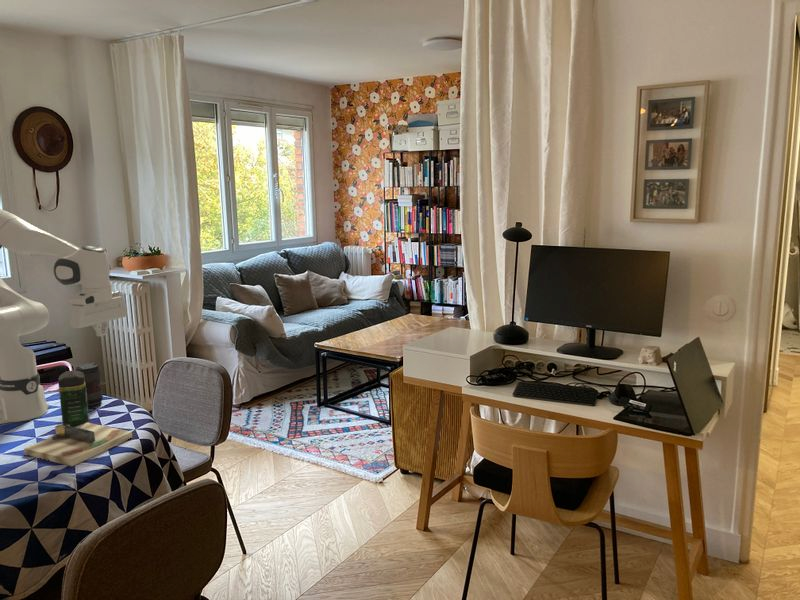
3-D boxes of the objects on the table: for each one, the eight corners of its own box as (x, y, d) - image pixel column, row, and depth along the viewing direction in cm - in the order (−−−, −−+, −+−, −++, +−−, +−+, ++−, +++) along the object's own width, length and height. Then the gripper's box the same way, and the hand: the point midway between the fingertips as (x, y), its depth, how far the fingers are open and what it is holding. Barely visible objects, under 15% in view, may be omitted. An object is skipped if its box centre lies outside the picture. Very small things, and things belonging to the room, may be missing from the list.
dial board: (24, 454, 187) (23, 447, 187) (87, 428, 207) (86, 421, 206) (72, 466, 179) (71, 459, 179) (132, 437, 199) (131, 431, 198)
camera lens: (97, 400, 233) (93, 361, 231) (107, 404, 228) (103, 365, 225) (75, 406, 227) (70, 366, 224) (85, 411, 222) (80, 370, 219)
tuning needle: (53, 436, 194) (52, 427, 194) (64, 431, 198) (63, 422, 197) (87, 444, 188) (86, 435, 187) (98, 439, 192) (97, 430, 191)
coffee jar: (89, 429, 206) (83, 375, 202) (62, 433, 203) (56, 378, 199) (90, 419, 215) (84, 367, 211) (64, 423, 211) (58, 370, 208)
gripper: (116, 289, 218) (119, 328, 221) (64, 299, 200) (68, 341, 203) (129, 290, 216) (133, 329, 219) (78, 301, 198) (82, 343, 200)
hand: (101, 335), depth 210 cm, fingers closed
